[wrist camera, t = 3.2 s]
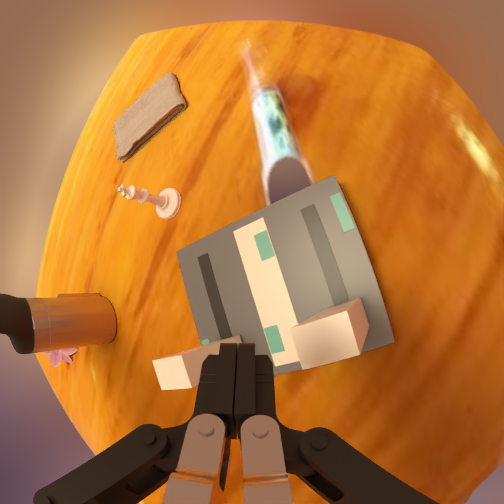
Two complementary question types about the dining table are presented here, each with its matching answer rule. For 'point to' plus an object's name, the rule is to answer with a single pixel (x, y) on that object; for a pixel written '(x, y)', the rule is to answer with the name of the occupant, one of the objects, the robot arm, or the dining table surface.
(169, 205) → the chess piece
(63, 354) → the lily
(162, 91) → the washcloth
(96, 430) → the dining table surface
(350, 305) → the tab
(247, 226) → the switch bank
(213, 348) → the tab
